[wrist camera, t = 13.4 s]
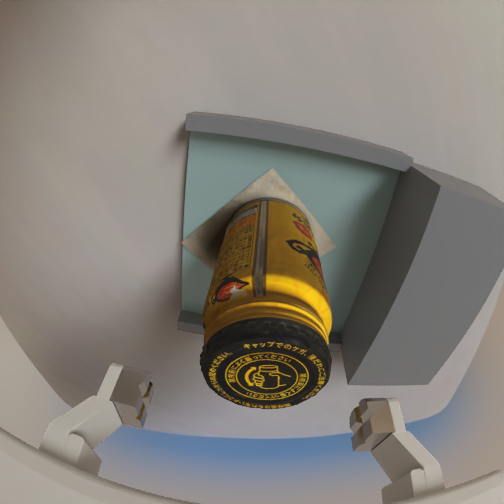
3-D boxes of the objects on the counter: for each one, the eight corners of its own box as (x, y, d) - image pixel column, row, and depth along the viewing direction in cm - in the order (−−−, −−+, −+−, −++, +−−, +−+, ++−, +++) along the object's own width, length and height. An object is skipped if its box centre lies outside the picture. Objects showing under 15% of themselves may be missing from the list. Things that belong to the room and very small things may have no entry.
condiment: (336, 245, 21) (379, 384, 11) (247, 303, 24) (230, 439, 14) (272, 166, 19) (272, 271, 8) (181, 240, 22) (116, 370, 12)
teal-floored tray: (194, 111, 18) (163, 120, 13) (481, 181, 18) (527, 211, 13) (183, 314, 26) (165, 365, 21) (407, 341, 27) (425, 387, 22)
